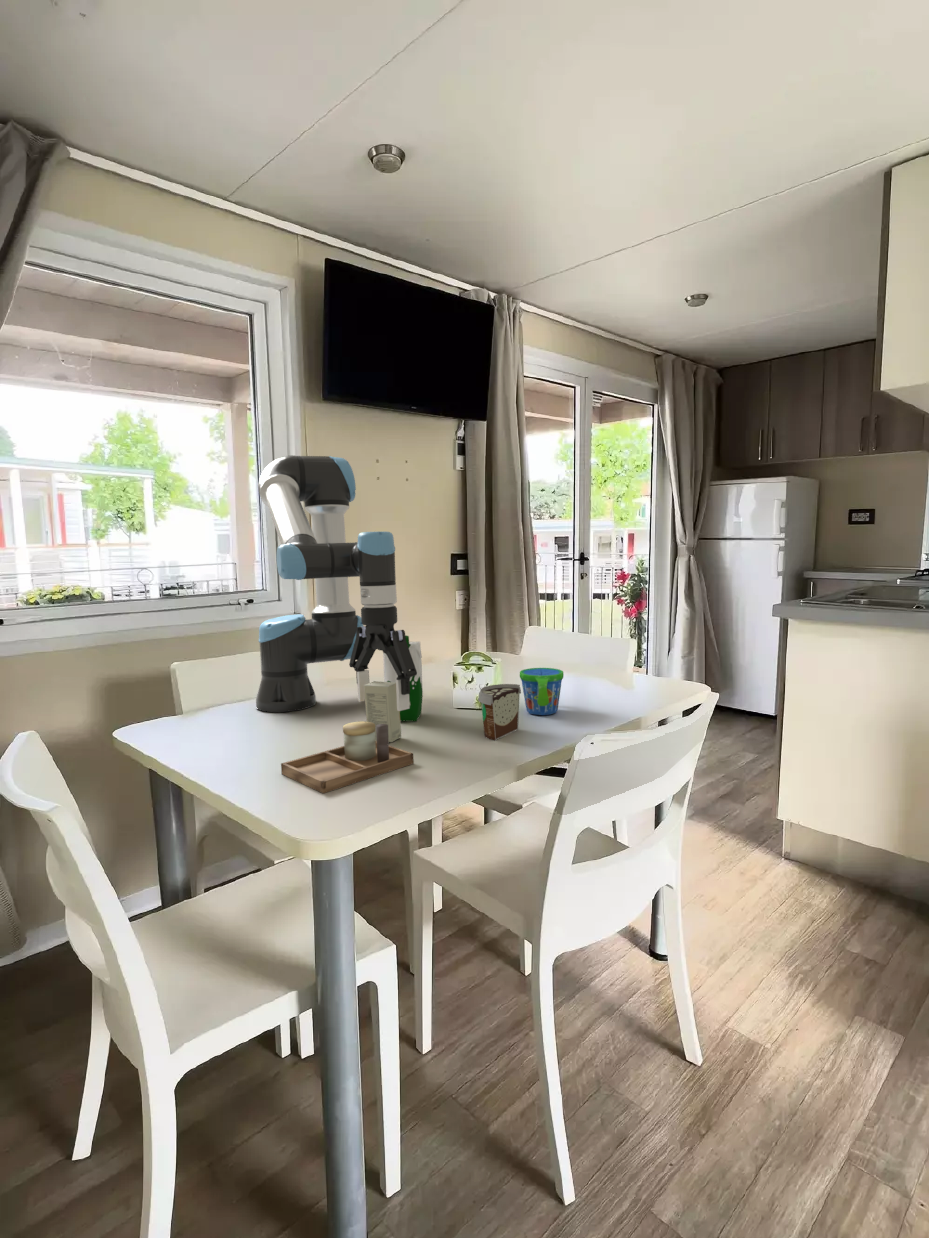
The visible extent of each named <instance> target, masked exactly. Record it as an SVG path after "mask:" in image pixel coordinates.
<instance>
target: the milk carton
mask: <svg viewBox="0 0 929 1238" xmlns="http://www.w3.org/2000/svg"><path fill="white" fill-rule="evenodd" d="M405 637H406V642H407V645H408V648H409V651H410V654H411V657H412V660H413V662H414V665H415V668H416V671H417V675H416V676H412V677H411V678H410V694H409V705H410V709H406V710H402V711H400V722H417V720H418V719H419V718H420V717H421V714H422V707H423V696H424V695H423V694H424V693H423V667H422V666H423V665H422V664H423V663H422V662H423V661H422V658H423V656H422V654H423V653H422V649H421V648H422V647H421V641H410V636H409V635H406V634H405ZM391 646H392V645H391ZM382 653H383V652H382ZM382 657H383V682H396V679H397V677H398V675H397V674H396V672H395V670H394V668H393V666H392V664H391V662H390V660H389V658H388V657H387V655H386V654H385V653H383V655H382ZM409 671H410V670H409ZM402 673H403V672H402Z"/></svg>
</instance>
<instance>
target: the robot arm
mask: <svg viewBox="0 0 929 1238" xmlns="http://www.w3.org/2000/svg"><path fill="white" fill-rule="evenodd" d="M257 486H258V487H257V488H258V494H259V495H260V496H259V497H260V499H261V501H262V503H263V504H264V505H265V506H266V507H267V508H268V510H269V513H270V516H271V519H272V521H273V524H274V527H275V530H276V533H277V536H278V539H279V542H280V545H278V546H277V549H276V567H277V573H278V576H279V577H280V578H281V579H284V580H297V581H302V580H311V579H314V580H315V581H314V582H315V595H316V598H315V599H316V606H315V607H314V608H313V610H311V619H310V618H309V619H306V617H305V615H304V614H301V613H299V614H297V613H295V614H288V615H281V616H278V617H277V616H276V617H273V618H269V619H266V620H264V621H263V622H262V623H261V624H260V625H259V627H258V643H259V651H260V652H259V653H260V656H259V657H260V673H261V675H260V676H261V680H260V683H259V687H258V691H257V693H256V699H255V708H256V707H257V708H258V709H259V710H258V709H257V708H256V709H257V710H258V711H261V710H263V711H262V712H266V711H267V713H285V712H294V711H295V712H296V711H301V710H304V709H305V710H306V709H308V708H311V707H314V705H316V704H317V697H316V693H315V691H314V687H313V685H312V682H311V680H310V677H309V674H308V664H316V663H317V664H319V663H325V662H326V663H327V662H328V663H329V662H337V661H340V662H344V661H345V660H350V661H349V662H348V663H349V667H350V668H353V669H354V672H356V675H355V676H356V684H357V701H358V702H365V691H364V685H366V684H368V683H371V682H370V670H369V669H370V668H369V664H370V661H371V660H372V658H373V657H374V654H375V653H376V650H378V651H381V652H382V653H385V654H386V655H387V657H388V658H389V660H390V662H391V664H392V666H393V668H394V670H395V672H396V674H397V675H398V677H397V679H396V695H397V711H402V710H406V709H410V705H409V694H410V678H411V677H412V676H416V675H417V671H416V668H415V665H414V662H413V660H412V657H411V654H410V651H409V648H408V645H407V642H406V637H405V635H406V631H405V630H404V629H397V630H395V627H394V626H395V624H397V623H398V607H397V606H396V605H395V604H397V602H398V597H397V595H398V594H397V584H396V583H397V582H396V579H397V577H396V556H395V555H396V553H395V552H396V547H395V540H394V539H395V538H394V535H393V533H392V532H390V531H363V532H360V533H359V534H357V542H347V541H346V527H345V525H346V524H345V523H346V522H345V513H346V512H347V511H348V510H349V509H350V503H352V502H353V501H354V500H355V498H356V489H357V488H356V479H355V475H354V470H353V468H352V466H351V464H350V463H349V461H348V460H347V459H346V458H344V457H337V456H336V457H335V456H331V455H329V456H328V455H325V456H324V455H323V456H322V455H319V456H318V455H284V456H281V457H279V458H276V459H274V460H273V461H272V462H269V464H268V465H267V466H265V468H264V469H263V471H262V473H261V475H260V477H259V480H258V485H257ZM302 502H303V503H304V508H303V504H302ZM305 511H306V512H308V514H309V515H310V517H311V524H310V522H309V519H308V517H307V515H306V512H305ZM353 577H354V578H355V577H356V578H357V577H359V589H360V604H361V605H362V607H361V608H360V615H357V614H356V613H357V612H356V608H354V607H353V606H352V605H351V604H350V591H349V578H353ZM391 645H392V646H391ZM409 670H410V671H409ZM402 672H403V673H402Z"/></svg>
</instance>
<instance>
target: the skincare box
mask: <svg viewBox="0 0 929 1238" xmlns="http://www.w3.org/2000/svg"><path fill="white" fill-rule="evenodd" d="M364 691H365V701H364V703H365V715H366V718H365V719H366V721H365V722H372V723H374V724H375V741H377V736H376V725H378V724H387V725H388V743H393V742H395V741H396V740H398V739H400V738H401V737H402V729H401V728H402V726H401V721H400V711H397V695H396V682H384V681H375V680H373V681H371V682H370V683H368V684H366V685H364Z"/></svg>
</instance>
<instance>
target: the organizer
mask: <svg viewBox="0 0 929 1238" xmlns="http://www.w3.org/2000/svg"><path fill="white" fill-rule="evenodd" d="M342 733H343V746H337V747H335V748H332V749H328V750H325V751H321V752H316V753H313V754H311V755H307V756H303V757H299V758H296V759H292V760H288V761H286V762H281V763H280V765H281V766H280V767H281V768H280V769H281V775H283V776H285V777H287V778H289V779H292V780H294V781H296V782H297V783H300V784H302V785H305V786H306V787H309V788H310V789H313V790H315V791H317V792H319V793H321V794H326V793H329V792H332V791H334V790H338V789H341V788H344V787H347V786H350V785H353V784H356V783H359V782H362V781H364V780H369V779H371V778H374V777H377V776H380V775H384V774H386V773H389V772H392V771H395V770H399V769H402V768H405V767H407V766H410V765H414V753H413V752H410V751H407V750H404V749H400V748H399V747H395V746H392V745H390V744H389V743H390V742H388V725H387V724H378V725H376V736H377V741H375V724H374V723H372V722H367V721H354V722H348V723H345V724H344V725H343V726H342Z"/></svg>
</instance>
